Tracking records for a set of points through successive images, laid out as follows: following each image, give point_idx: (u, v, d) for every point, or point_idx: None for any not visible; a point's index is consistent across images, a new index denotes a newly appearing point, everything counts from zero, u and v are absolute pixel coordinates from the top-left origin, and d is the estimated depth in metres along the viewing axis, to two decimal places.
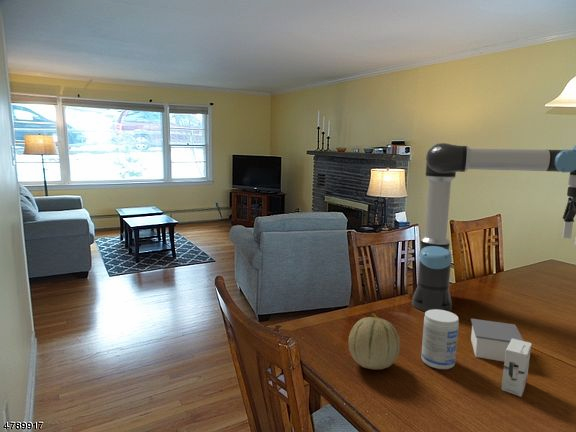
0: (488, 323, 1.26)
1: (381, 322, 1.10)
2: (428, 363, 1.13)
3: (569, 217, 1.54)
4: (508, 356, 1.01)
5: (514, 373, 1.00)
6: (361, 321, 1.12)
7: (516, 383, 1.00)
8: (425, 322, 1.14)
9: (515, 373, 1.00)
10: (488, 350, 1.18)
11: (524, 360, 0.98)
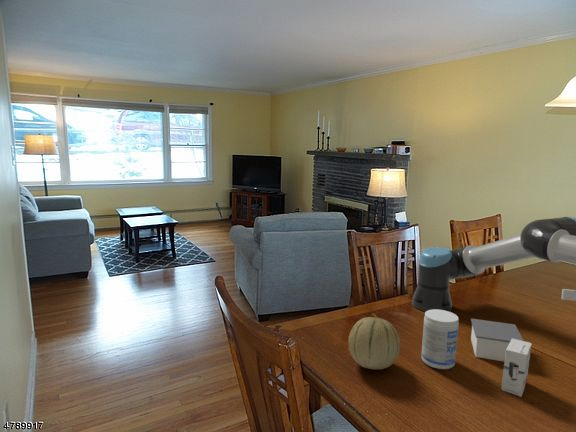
0: (488, 323, 1.26)
1: (381, 322, 1.10)
2: (428, 363, 1.13)
3: None
4: (508, 356, 1.01)
5: (514, 373, 1.00)
6: (361, 321, 1.12)
7: (516, 383, 1.00)
8: (425, 322, 1.14)
9: (515, 373, 1.00)
10: (488, 350, 1.18)
11: (524, 360, 0.98)
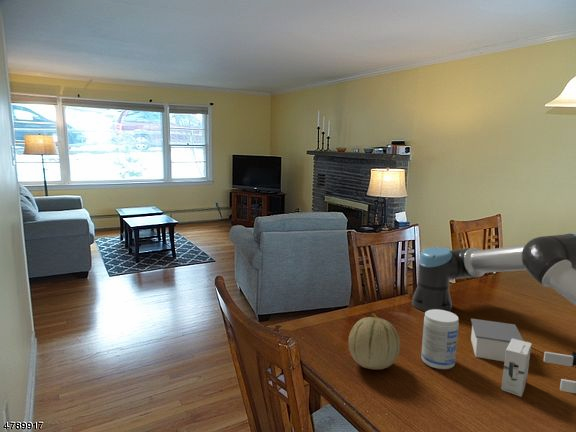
0: (488, 323, 1.26)
1: (381, 322, 1.10)
2: (428, 363, 1.13)
3: None
4: (508, 357, 1.01)
5: (514, 373, 1.00)
6: (361, 321, 1.12)
7: (516, 383, 1.00)
8: (425, 322, 1.14)
9: (515, 373, 1.00)
10: (488, 350, 1.18)
11: (524, 360, 0.98)
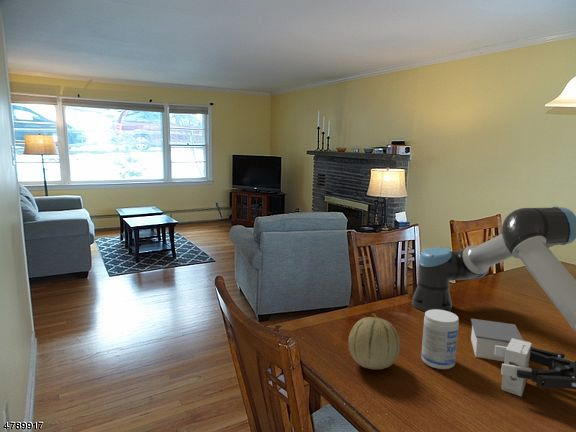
0: (488, 323, 1.26)
1: (381, 322, 1.10)
2: (428, 363, 1.13)
3: (532, 356, 1.06)
4: (508, 356, 1.01)
5: None
6: (361, 321, 1.12)
7: (516, 383, 1.00)
8: (425, 322, 1.14)
9: None
10: (488, 350, 1.18)
11: (524, 360, 0.99)
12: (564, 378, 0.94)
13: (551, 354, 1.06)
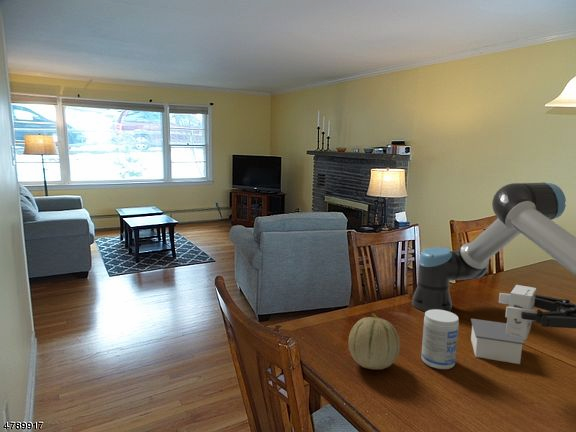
0: (488, 323, 1.26)
1: (381, 322, 1.10)
2: (428, 363, 1.13)
3: (536, 302, 1.06)
4: (513, 299, 1.00)
5: None
6: (361, 321, 1.12)
7: (520, 326, 1.00)
8: (425, 322, 1.14)
9: None
10: (488, 350, 1.18)
11: (529, 302, 0.98)
12: (569, 318, 0.94)
13: (556, 300, 1.05)
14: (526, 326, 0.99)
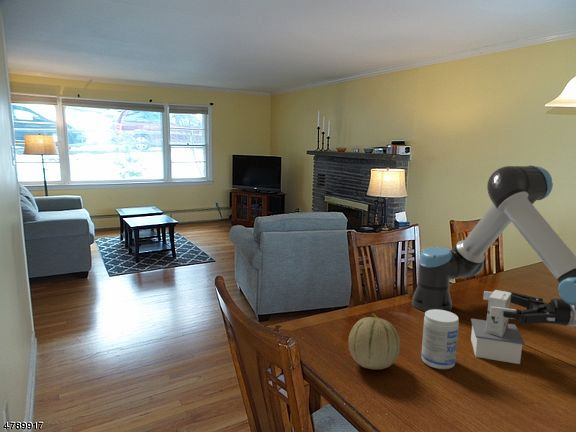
0: None
1: (381, 322, 1.10)
2: (428, 363, 1.13)
3: (514, 299, 1.24)
4: (491, 303, 1.18)
5: (496, 317, 1.17)
6: (361, 321, 1.12)
7: (498, 325, 1.17)
8: (425, 322, 1.14)
9: None
10: (488, 350, 1.18)
11: (504, 305, 1.16)
12: (541, 314, 1.11)
13: (530, 298, 1.23)
14: (502, 325, 1.17)
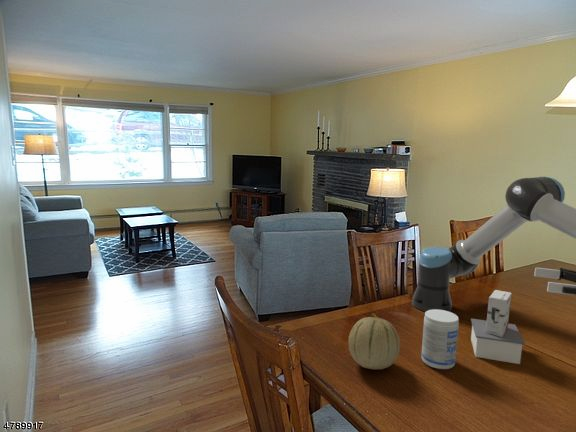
0: None
1: (381, 322, 1.10)
2: (428, 363, 1.13)
3: (568, 275, 1.18)
4: (491, 303, 1.18)
5: (496, 317, 1.17)
6: (361, 321, 1.12)
7: (498, 325, 1.17)
8: (425, 322, 1.14)
9: (497, 316, 1.17)
10: (488, 350, 1.18)
11: (504, 305, 1.16)
12: None
13: None
14: (502, 325, 1.17)
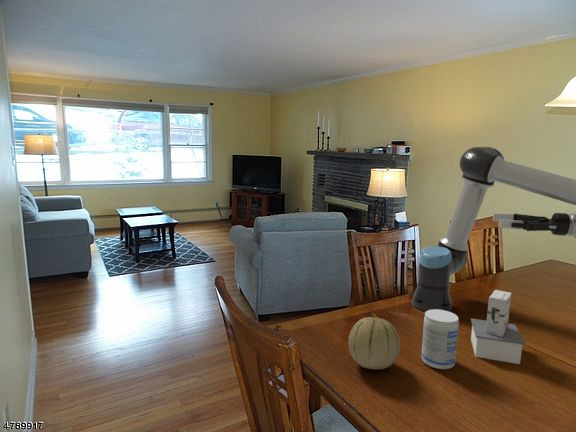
0: None
1: (381, 322, 1.10)
2: (428, 363, 1.13)
3: (520, 218, 1.40)
4: (491, 303, 1.18)
5: (496, 317, 1.17)
6: (361, 321, 1.12)
7: (498, 325, 1.17)
8: (425, 322, 1.14)
9: (497, 317, 1.17)
10: (488, 350, 1.18)
11: (504, 305, 1.16)
12: (544, 223, 1.27)
13: None
14: (502, 325, 1.17)
